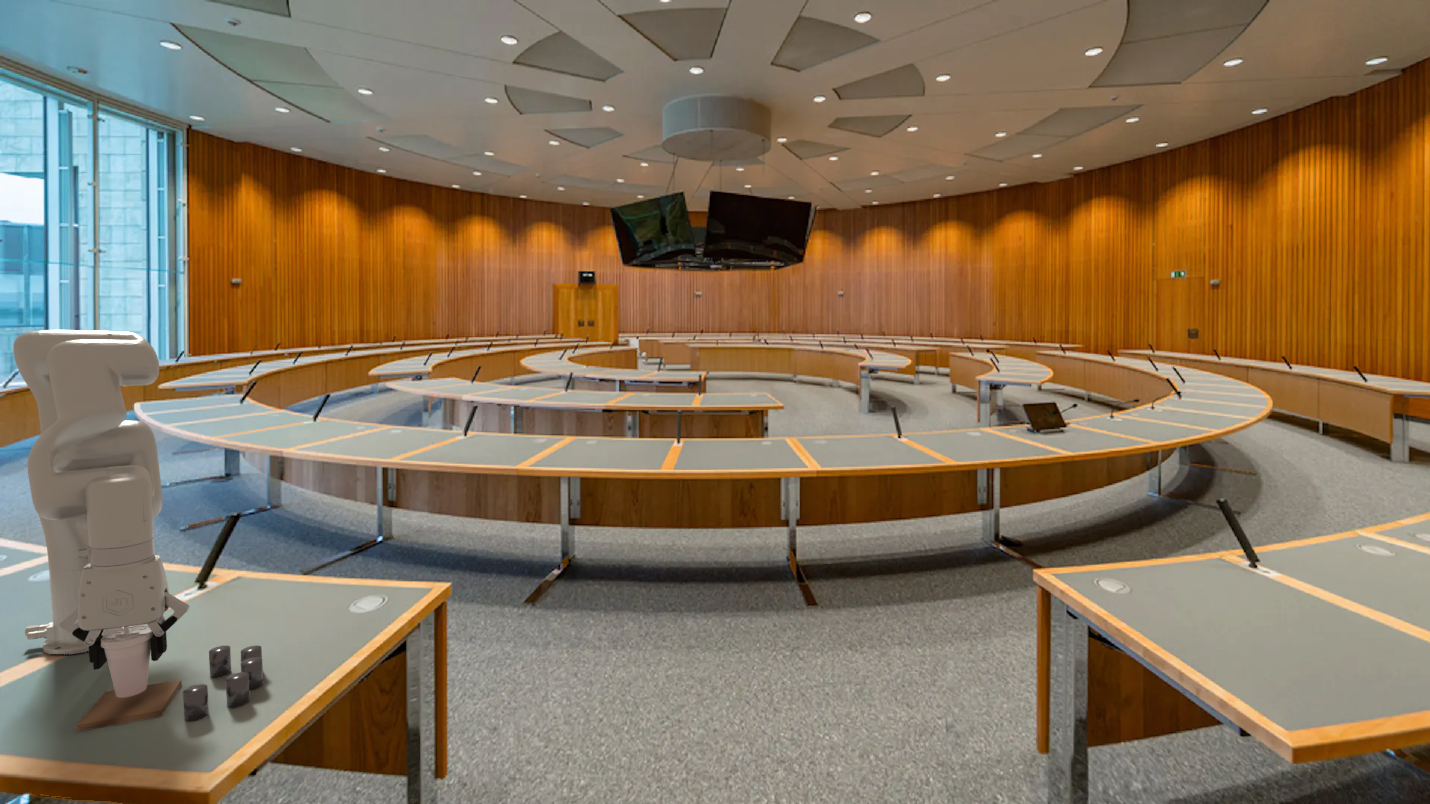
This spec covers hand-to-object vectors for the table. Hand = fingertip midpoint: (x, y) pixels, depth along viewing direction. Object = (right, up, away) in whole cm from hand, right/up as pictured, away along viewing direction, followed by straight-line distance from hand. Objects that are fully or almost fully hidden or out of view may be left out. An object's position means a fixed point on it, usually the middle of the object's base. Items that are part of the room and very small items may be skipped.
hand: (129, 660), depth 103 cm
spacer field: (+12, -8, +6) cm, 15 cm away
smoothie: (0, -5, 0) cm, 5 cm away
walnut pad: (0, -8, +1) cm, 8 cm away
